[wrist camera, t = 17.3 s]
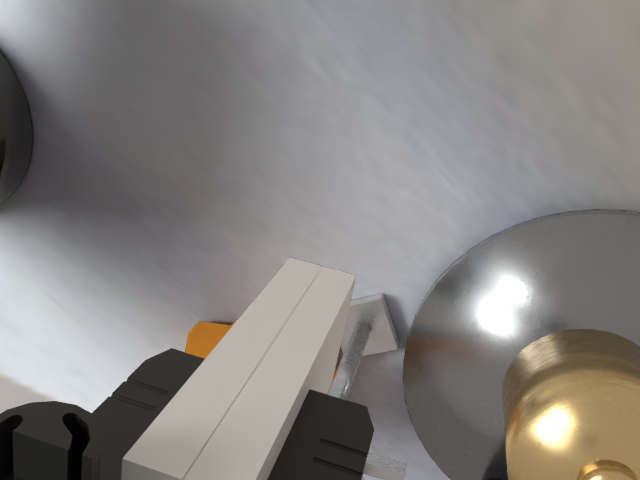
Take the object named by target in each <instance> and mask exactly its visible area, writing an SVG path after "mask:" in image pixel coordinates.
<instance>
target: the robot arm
mask: <svg viewBox="0 0 640 480" xmlns="http://www.w3.org/2000/svg"><path fill="white" fill-rule="evenodd" d="M31 152H32V124H31V117H30V112H29V108H28V104H27V101H26V98H25V95H24V92H23V90H22V87H21V85H20V83H19V81H18V79H17V76H16V75H15V73H14V71H13V69H12V68H11V66H10V65H9V63H8V61H7V60H6V59H5V57H4V56H3V55H2V53H1V52H0V203H1V202H2V201H4V200H5V199H7V198H8V197H9V196H10V195H11V194H12V193H13V192H14V191H15V190H16V189H17V187H18V186H19V185H20V183H21V182H22V180H23V178H24V176H25V174H26V171H27V168H28V165H29V162H30V157H31ZM355 279H356V275H353V274H349V273H346V272H342V271H338V270H335V269H331V268H327V267H324V266H320V265H316V264H313V263H309V262H305V261H302V260H298V259H294V258H291V257H290V258H289V259H288V260H287V261H286V262H285V264H284V265H283V266H282V267H281V268H280V270H279V271H278V272H277V273H276V274H275V276H274V277H273V278H272V279H271V280H270V282H269V283H268V284H267V285H266V286H265V288H264V289H263V290H262V291H261V292H260V294H259V295H258V296H257V297H256V298H255V300H254V301H253V302H252V303H251V304H250V306H249V307H248V308H247V309H246V311H245V312H244V313H243V314H242V315H241V317H240V318H239V319H238V320H237V321H236V323H235V324H234V325H233V326H232V327H231V329H230V330H229V331H228V332H227V333H226V335H225V336H224V337H223V338H222V339H221V341H220V342H219V343H218V344H217V345H216V347H215V348H214V349H213V350H212V351H211V353H210V354H209V355H208V356H207V357H206V359H204V358H201V357H198V356H195V355H191V354H188V353H185V352H182V351H179V350H175V349H172V348H171V349H169V350H167V351H165V352H163V353H160V354H158V355H156V356H154V357H151V358H149V359H147V360H145V361H144V362H143V363H142V364H141V365H140V366H139V367H138V368H137V369H136V370H135V371H134V372H133V373H132V374H131V375H130V376H129V377H128V379H127V381H126V382H125V381H124V382H123V383H122V384H121V385H120V386H119V387H118V388H117V389H116V390H115V391H114V392H113V394H112V396H111V397H108V398H107V399H106V400H105V401H104V402H103V403H102V404H101V405H100V406H99V407H98V408H97V409H96V410H95V411H94V412H93V413H90V412H88V411H86V410H84V409H82V408H81V407H79V406H77V405H73V404H68V403H62V402H57V401H50V402H35V403H29V404H25V405H22V406H18V407H15V408H12V409H8V410H6V411H4V412H3V413H1V414H0V480H361V479H362V475H363V471H364V467H365V463H366V459H367V455H368V451H369V447H370V444H371V440H372V436H373V432H374V429H373V425H372V422H371V419H370V416H369V412H368V409H367V407H366V406H363V405H359V404H356V403H353V402H350V401H346V400H343V399H340V398H337V397H334V396H330V395H327V393H328V391H329V388H330V386H331V383H332V381H333V377H334V372H335V368H336V363H337V359H338V354H339V350H340V346H341V341H342V337H343V332H344V328H345V323H346V319H347V315H348V310H349V306H350V301H351V297H352V292H353V288H354V284H355Z"/></svg>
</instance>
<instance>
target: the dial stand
mask: <svg viewBox="0 0 640 480" xmlns="http://www.w3.org/2000/svg"><path fill="white" fill-rule="evenodd" d="M398 346H399V340H398V337H397V334H396V331H395V328H394V325H393V322H392V319H391V316H390V313H389V310H388V307H387V304H386V301H385V298H384V295H383V293H381V294H376V295H372V296H367V297H363V298H358V299H354V300H351V301H350V306H349V310H348V315H347V319H346V323H345V328H344V332H343V337H342V341H341V346H340V347H341V349H342V352H343V356H342V358H341V361H340V363H339V366H338V368H337V370H336V373H335V375H334V378H333V381H332V383H331V386H330V388H329V391H328V393H327V395H330V396H334V397H337V398H340V399H343V400H346V401H347V398H348V395H349V392H350V390H351V387H352V384H353V381H354V378H355V375H356V373H357V370H358V367H359V364H360V361H361V358H362V356H365V355H371V354H376V353H382V352H387V351H393V350H398ZM406 466H407V464H405V463H401V462H398V461H394V460H391V459H387V458H384V457H380V456H377V455H373V454H370V453H368V455H367V459H366V463H365V467H364V471H363V474H367V475H370V476H374V477H377V478H380V479H384V480H404V477H405V473H406ZM361 480H364V478H363V476H362V479H361Z"/></svg>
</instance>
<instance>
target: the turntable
mask: <svg viewBox="0 0 640 480" xmlns="http://www.w3.org/2000/svg"><path fill="white" fill-rule="evenodd" d="M571 329H596V330H601V331H607V332H610V333H614V334H617V335H619V336H622V337H624V338H626V339H628V340H630V341H632V342H634V343H635V344H637V345H638V346H640V213H637V212H631V211H623V210H600V209H595V210H581V211H568V212H563V213H558V214H553V215H547V216H542V217H539V218H536V219H532V220H529V221H526V222H523V223H520V224H517V225H514V226H512V227H510V228H508V229H505V230H503V231H501V232H499V233H497V234H494V235H492V236H491V237H489V238H487V239H486V240H484V241H482V242H481V243H479V244H478V245H476V246H474V247H473V248H471V249H470V250H469V251H467V252H466V253H465V254H464V255H462V256H461V257H460V258H459V259H457V260H456V261H455V262H454V263H453V264H452V265H451V266H450V267H449V268H448V269H447V270H446V271H445V272H444V273H443V274H442V275H441V276H440V277H439V278H438V279H437V281H436V282H435V283H434V285H433V286H432V288H431V289H430V290H429V292H428V293H427V295H426V296H425V298H424V299H423V301H422V303H421V305H420V307H419V309H418V311H417V313H416V315H415V317H414V320H413V323H412V326H411V329H410V332H409V335H408V340H407V345H406V350H405V356H404V363H403V385H404V393H405V400H406V404H407V408H408V411H409V415H410V419H411V421H412V423H413V426H414V428H415V430H416V433H417V435H418V437H419V439H420V440H421V442H422V444H423V445H424V447H425V449H426V450H427V452H428V454H429V455H430V456H431V458H432V459H433V460H434V461H435V463H436V464H437V465H438V467H439V468H440V469H441V470H442V471H443V472H444V473H445V474H446V475H447V476H448V477H449V478H450V479H451V480H508V473H507V459H506V445H505V431H504V417H503V403H502V385H503V381H504V377H505V374H506V372H507V369H508V368H509V366H510V364H511V363H512V361H513V360H514V359H515V357H516V356H517V355H518V354H519V353H520V352H521V351H522V350H523V349H524V348H525V347H527V346H528V345H530V344H531V343H532V342H534V341H536V340H538V339H540V338H542V337H544V336H547V335H549V334H552V333H556V332H559V331H564V330H571Z"/></svg>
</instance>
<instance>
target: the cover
mask: <svg viewBox="0 0 640 480" xmlns="http://www.w3.org/2000/svg"><path fill="white" fill-rule="evenodd" d="M502 403H503V417H504V431H505V445H506V459H507V473H508V480H640V346H638V345H637V344H635V343H634V342H632V341H630V340H628V339H626V338H624V337H622V336H619V335H617V334H614V333H610V332H607V331H601V330H596V329H571V330H564V331H559V332H556V333H552V334H549V335H547V336H544V337H542V338H540V339H538V340H536V341H534V342H532V343H531V344H530V345H528V346H527V347H525V348H524V349H523V350H522V351H521V352H520V353H519V354H518V355H517V356H516V357H515V359H514V360H513V361H512V363H511V364H510V366H509V368H508V369H507V372H506V374H505V377H504V381H503V385H502Z"/></svg>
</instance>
